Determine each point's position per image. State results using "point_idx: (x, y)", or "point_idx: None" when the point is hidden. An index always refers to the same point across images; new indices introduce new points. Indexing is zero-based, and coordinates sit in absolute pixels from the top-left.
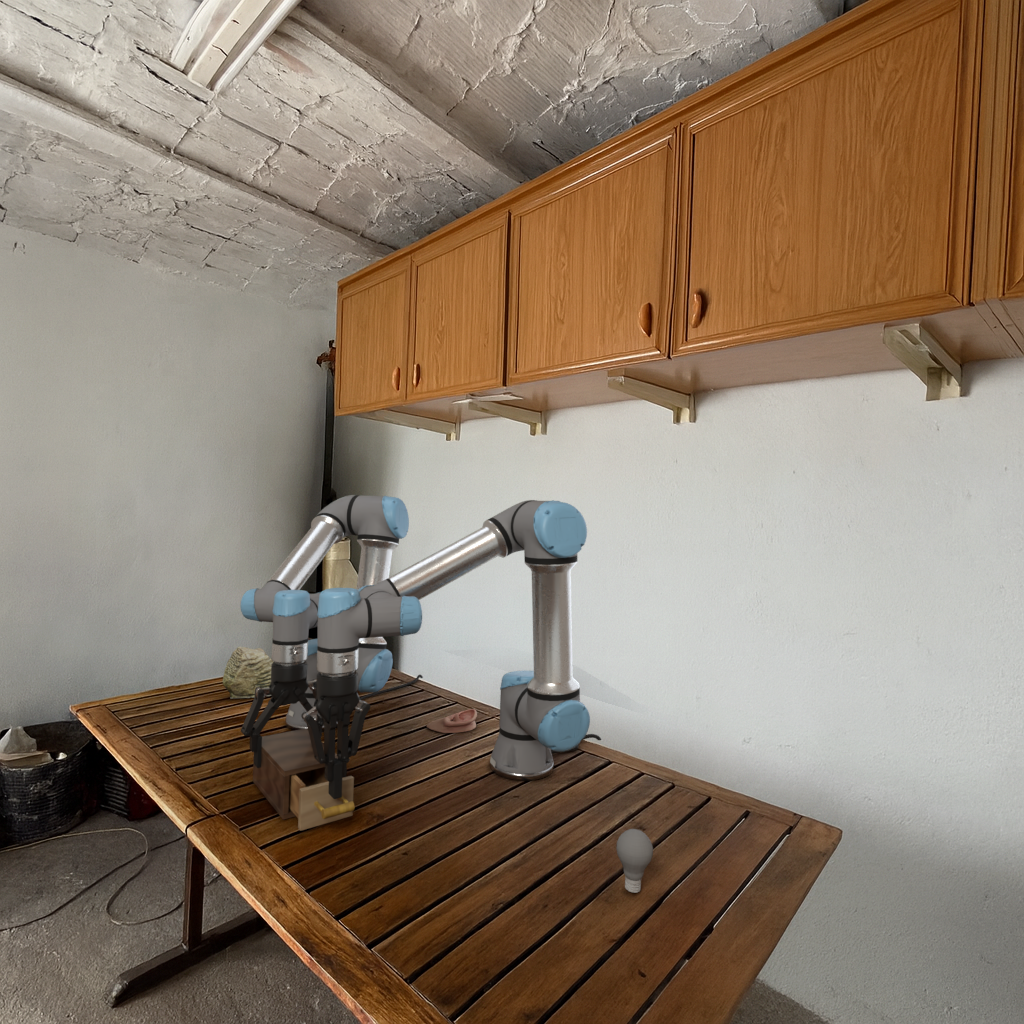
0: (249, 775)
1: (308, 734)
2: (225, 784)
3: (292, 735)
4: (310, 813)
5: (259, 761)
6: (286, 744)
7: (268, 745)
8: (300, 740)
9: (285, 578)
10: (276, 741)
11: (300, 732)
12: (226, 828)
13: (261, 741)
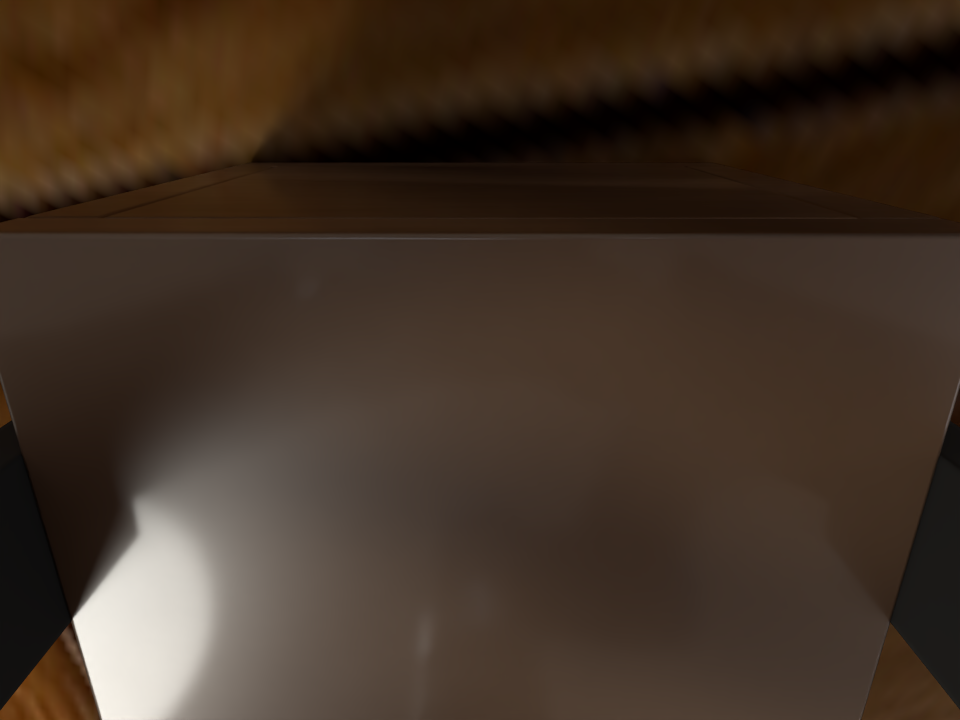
0: (241, 6)
1: (846, 541)
2: (21, 91)
3: (613, 461)
4: None
5: None
6: (407, 709)
7: (166, 640)
8: (627, 679)
9: None
10: (306, 560)
11: (794, 397)
12: (35, 684)
13: (14, 681)
